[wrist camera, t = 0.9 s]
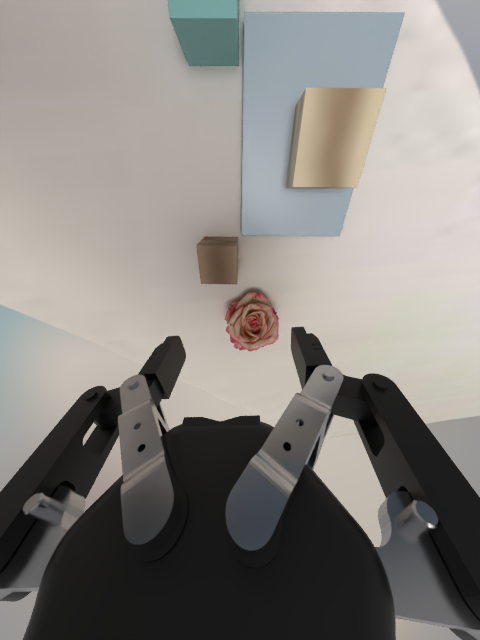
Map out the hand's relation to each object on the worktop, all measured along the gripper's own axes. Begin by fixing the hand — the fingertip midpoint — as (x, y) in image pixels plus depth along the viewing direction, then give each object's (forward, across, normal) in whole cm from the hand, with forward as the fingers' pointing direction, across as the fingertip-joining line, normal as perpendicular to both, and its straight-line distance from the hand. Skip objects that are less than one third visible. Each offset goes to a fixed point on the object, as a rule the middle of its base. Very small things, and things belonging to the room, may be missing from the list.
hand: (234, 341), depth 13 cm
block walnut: (+20, +3, -2) cm, 20 cm away
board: (+19, -8, -13) cm, 25 cm away
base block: (+18, -10, -12) cm, 24 cm away
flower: (+20, 0, +8) cm, 22 cm away
